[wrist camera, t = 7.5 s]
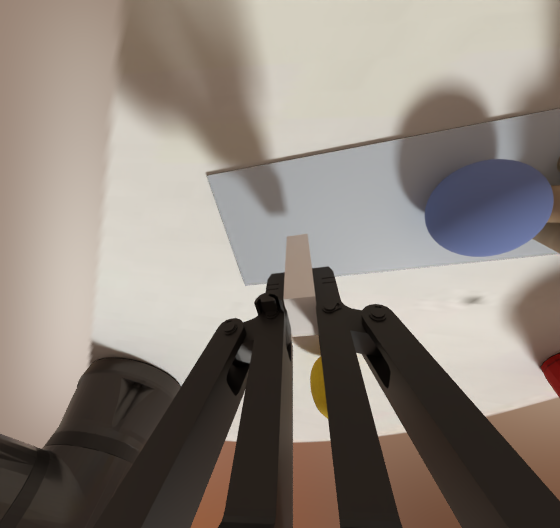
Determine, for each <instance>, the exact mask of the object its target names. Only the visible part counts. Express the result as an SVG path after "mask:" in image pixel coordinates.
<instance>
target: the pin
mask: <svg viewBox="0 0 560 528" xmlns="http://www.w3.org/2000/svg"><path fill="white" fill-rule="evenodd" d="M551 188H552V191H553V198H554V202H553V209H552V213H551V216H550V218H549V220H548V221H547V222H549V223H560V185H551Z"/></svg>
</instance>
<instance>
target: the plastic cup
mask: <svg viewBox="0 0 560 528" xmlns="http://www.w3.org/2000/svg"><path fill="white" fill-rule="evenodd" d="M541 369H542V372H543V373H544V375H545V378H546V379H547V381H548V382H549V383H550V385H551V386H552V388H553V389H554V391H555V392H556V393H557V395H558V396H559V398H560V353H559V354H557V355H554V356H552V357H550V358H549V359H548V360H546V361H545V362H544V363H543V365H542V366H541Z"/></svg>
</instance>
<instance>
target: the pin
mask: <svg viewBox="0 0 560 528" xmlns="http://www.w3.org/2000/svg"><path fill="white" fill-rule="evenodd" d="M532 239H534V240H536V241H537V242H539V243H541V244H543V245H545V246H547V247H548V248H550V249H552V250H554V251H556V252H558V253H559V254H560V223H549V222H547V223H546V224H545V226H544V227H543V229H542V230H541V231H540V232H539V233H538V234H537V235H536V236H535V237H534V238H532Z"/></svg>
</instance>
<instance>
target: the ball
mask: <svg viewBox="0 0 560 528" xmlns="http://www.w3.org/2000/svg"><path fill="white" fill-rule="evenodd" d="M553 202H554V198H553V191H552V188H551V186H550V184H549V182H548V180H547V179H546V177H545V176H544V175H542V174H541V173H540V172H539V171H538V170H536V169H535V168H533V167H532V166H530V165H527V164H525V163H522V162H519V161H515V160H507V159H491V160H484V161H479V162H475V163H472V164H469V165H466V166H464V167H462V168H460V169H458V170H456V171H455V172H453V173H451V174H450V175H449V176H447V177H446V178H445V179H443V180H442V181H441V182H440V183H439V184H438V185H437V187H436V188H435V189H434V190H433V192H432V193H431V195H430V197H429V199H428V201H427V204H426V208H425V224H426V227H427V230H428V232H429V234H430V235H431V237H432V238H433V239H434V240H435V241H436V242H437V243H438V244H439V245H440V246H442V247H443V248H445V249H447V250H449V251H451V252H453V253H456V254H460V255H464V256H471V257H486V256H494V255H499V254H502V253H506V252H509V251H512V250H514V249H516V248H518V247H520V246H522V245H524V244H525V243H527V242H528V241H530V240H531V239H532V238H534V237H535V236H536V235H537V234H538V233H539V232H540V231H541V230H542V229H543V227H544V226H545V224H546V223H547V221H548V220H549V218H550V216H551V213H552V209H553Z"/></svg>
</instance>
